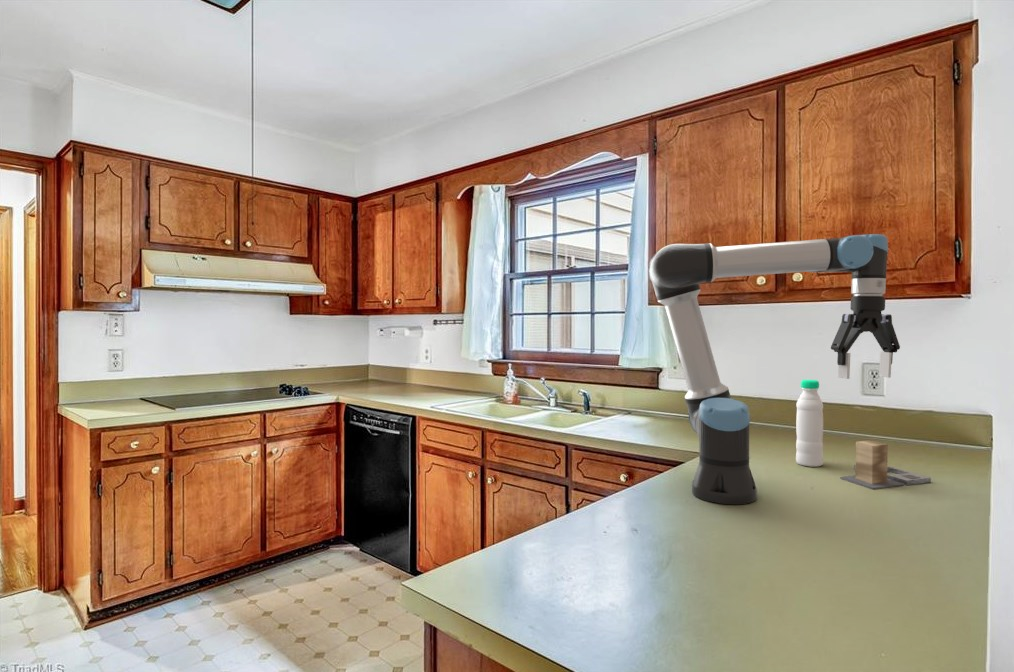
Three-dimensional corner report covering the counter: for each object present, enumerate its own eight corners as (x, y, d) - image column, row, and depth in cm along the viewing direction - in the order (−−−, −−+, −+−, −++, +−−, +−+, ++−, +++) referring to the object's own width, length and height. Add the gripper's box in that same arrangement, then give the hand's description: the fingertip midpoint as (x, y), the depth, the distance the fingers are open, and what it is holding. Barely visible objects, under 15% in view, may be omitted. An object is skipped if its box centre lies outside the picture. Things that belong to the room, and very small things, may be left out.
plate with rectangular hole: (906, 485, 147) (906, 480, 147) (854, 468, 162) (854, 464, 162) (930, 482, 149) (930, 477, 149) (876, 466, 164) (876, 462, 164)
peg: (872, 484, 147) (872, 445, 146) (855, 478, 152) (855, 441, 151) (887, 482, 148) (887, 444, 148) (870, 476, 153) (870, 440, 153)
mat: (873, 489, 144) (873, 487, 144) (840, 478, 154) (840, 476, 154) (903, 485, 147) (903, 484, 147) (869, 474, 156) (869, 473, 156)
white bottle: (795, 465, 166) (796, 381, 165) (796, 460, 173) (796, 378, 171) (823, 468, 163) (824, 382, 162) (822, 462, 169) (823, 379, 168)
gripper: (841, 294, 139) (838, 380, 140) (918, 296, 146) (914, 378, 147) (817, 294, 146) (814, 376, 147) (891, 296, 153) (888, 374, 154)
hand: (864, 377), depth 147 cm, fingers open, 13 cm apart
